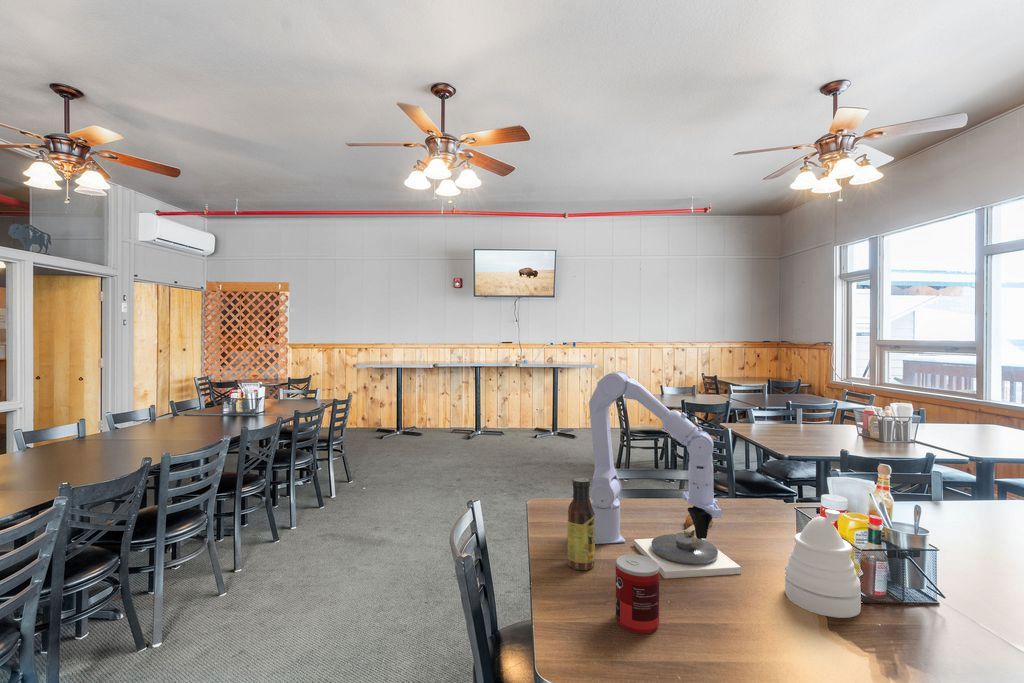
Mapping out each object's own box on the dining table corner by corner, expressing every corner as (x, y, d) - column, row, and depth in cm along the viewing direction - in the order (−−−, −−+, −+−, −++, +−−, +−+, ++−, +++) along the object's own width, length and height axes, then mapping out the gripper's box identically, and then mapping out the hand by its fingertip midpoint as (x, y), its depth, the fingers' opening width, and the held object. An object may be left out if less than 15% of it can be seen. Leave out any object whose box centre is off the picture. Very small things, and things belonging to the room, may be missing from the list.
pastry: (704, 534, 133) (704, 520, 133) (679, 529, 137) (679, 515, 137) (714, 524, 141) (714, 511, 141) (690, 519, 145) (690, 506, 145)
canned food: (626, 606, 96) (626, 550, 96) (666, 621, 91) (666, 561, 91) (607, 623, 90) (607, 563, 90) (649, 640, 85) (649, 576, 85)
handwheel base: (664, 578, 108) (664, 570, 108) (633, 545, 126) (633, 538, 126) (741, 573, 110) (741, 566, 110) (700, 541, 128) (700, 535, 128)
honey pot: (845, 589, 103) (845, 503, 103) (872, 622, 91) (872, 525, 91) (778, 581, 107) (778, 498, 107) (795, 612, 94) (795, 518, 95)
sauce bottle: (594, 573, 110) (594, 484, 110) (566, 570, 111) (566, 482, 112) (595, 560, 117) (595, 476, 117) (568, 558, 118) (569, 475, 118)
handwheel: (703, 571, 107) (703, 552, 107) (640, 551, 117) (640, 534, 117) (727, 549, 118) (727, 533, 118) (667, 533, 128) (667, 518, 128)
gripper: (733, 490, 114) (734, 548, 114) (700, 474, 128) (700, 526, 128) (705, 491, 113) (705, 550, 113) (675, 475, 127) (675, 527, 127)
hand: (701, 537), depth 120 cm, fingers closed, pressing on handwheel
